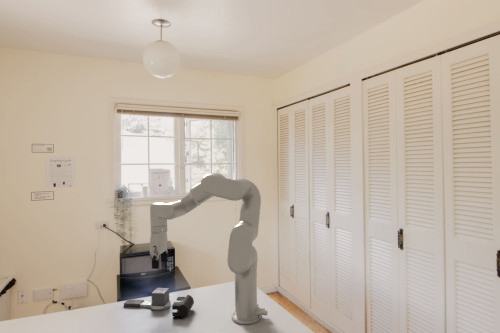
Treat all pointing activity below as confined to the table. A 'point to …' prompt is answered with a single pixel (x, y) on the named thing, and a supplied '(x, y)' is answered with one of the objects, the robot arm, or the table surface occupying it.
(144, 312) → the table surface
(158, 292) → the matte grey cube
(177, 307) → the end cap
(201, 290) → the table surface
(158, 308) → the ratchet
